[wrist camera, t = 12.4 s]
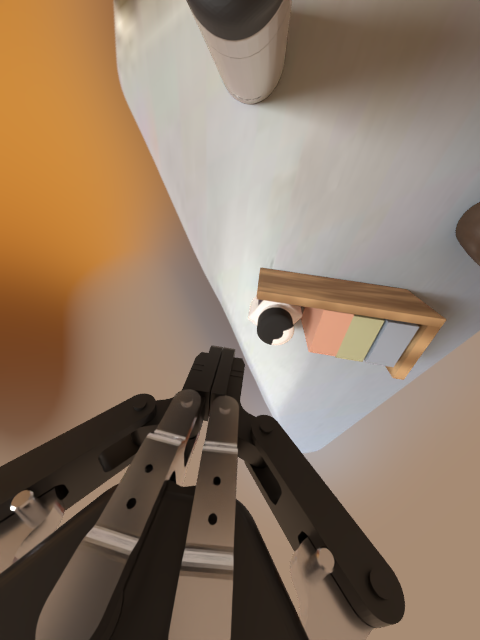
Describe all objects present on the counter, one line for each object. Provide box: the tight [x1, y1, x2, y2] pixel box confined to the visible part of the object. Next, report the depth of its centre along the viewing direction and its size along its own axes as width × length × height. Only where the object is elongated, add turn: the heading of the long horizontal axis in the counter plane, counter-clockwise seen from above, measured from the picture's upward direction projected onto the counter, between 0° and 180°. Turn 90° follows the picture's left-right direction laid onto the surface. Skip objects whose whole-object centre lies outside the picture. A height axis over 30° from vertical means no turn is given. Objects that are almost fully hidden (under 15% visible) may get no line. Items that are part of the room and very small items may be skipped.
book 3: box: [364, 319, 419, 367], centre depth 44 cm, size 9×5×12 cm, turn 173°
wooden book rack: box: [257, 268, 446, 380], centre depth 44 cm, size 14×30×12 cm, turn 83°
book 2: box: [335, 314, 384, 362], centre depth 44 cm, size 9×5×12 cm, turn 173°
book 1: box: [301, 307, 354, 356], centre depth 44 cm, size 9×5×12 cm, turn 173°
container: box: [248, 296, 303, 345], centre depth 44 cm, size 8×8×13 cm
